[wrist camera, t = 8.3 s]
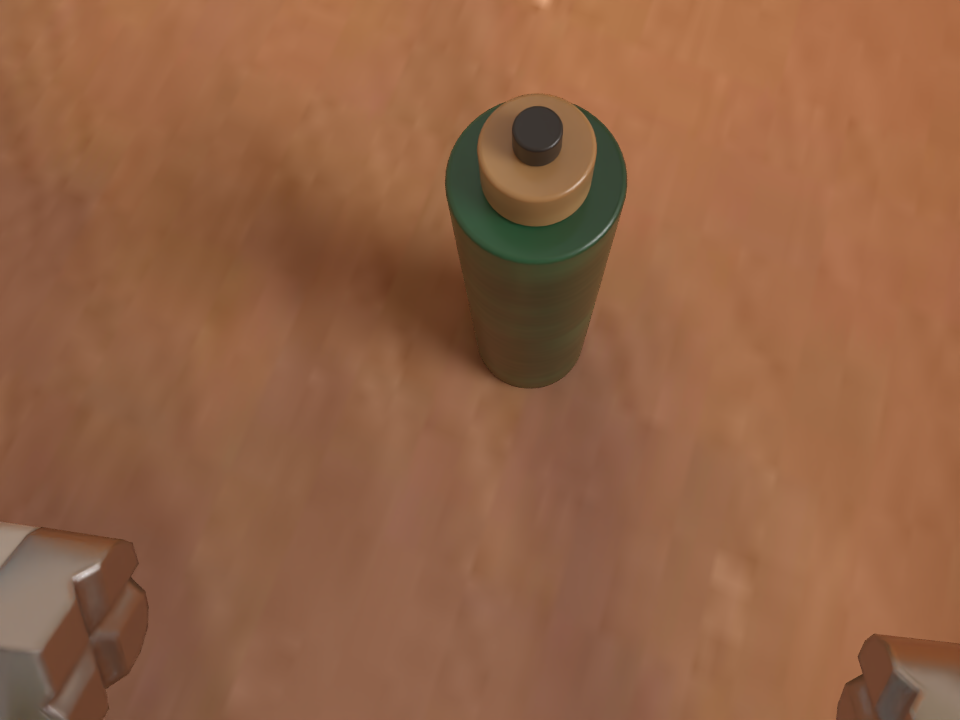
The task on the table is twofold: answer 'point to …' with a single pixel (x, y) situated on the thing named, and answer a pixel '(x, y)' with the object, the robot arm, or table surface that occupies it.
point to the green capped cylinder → (534, 230)
